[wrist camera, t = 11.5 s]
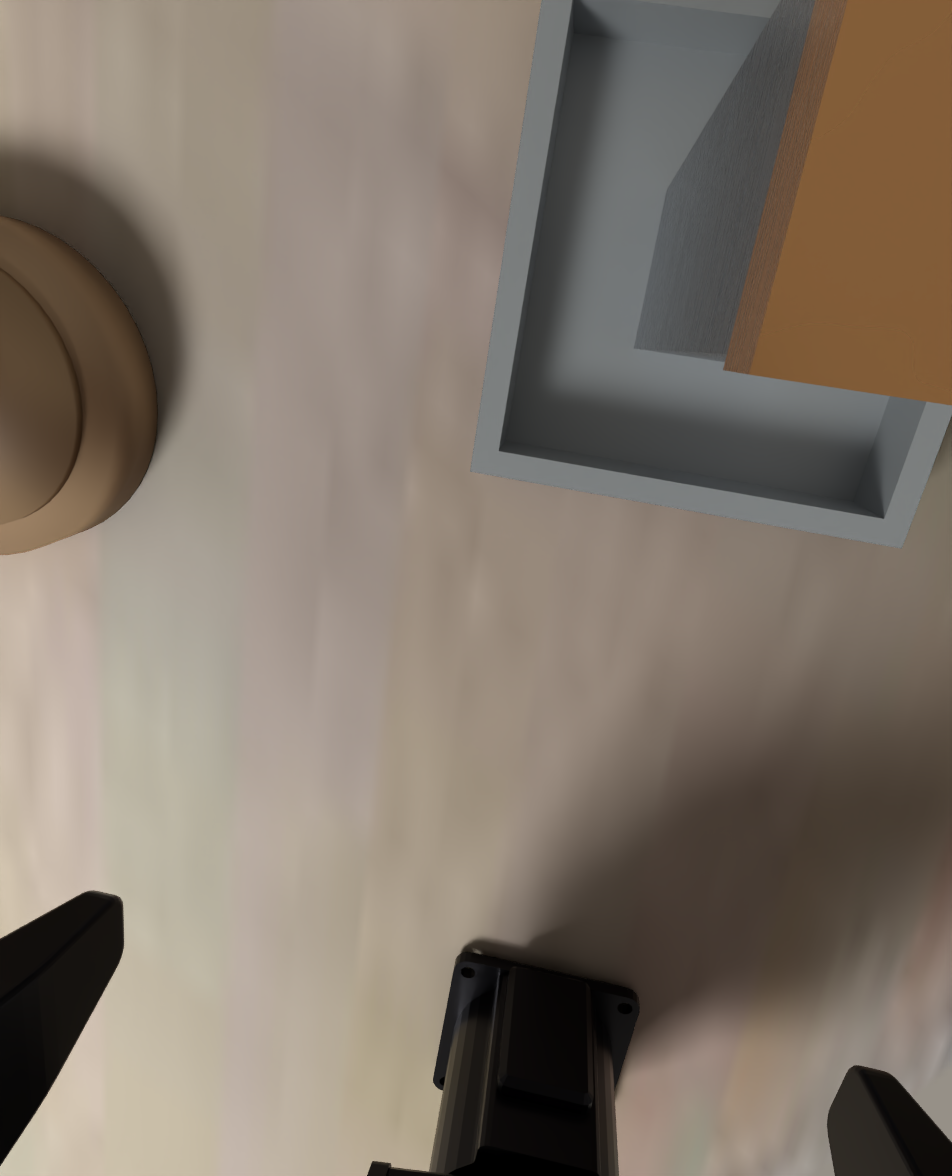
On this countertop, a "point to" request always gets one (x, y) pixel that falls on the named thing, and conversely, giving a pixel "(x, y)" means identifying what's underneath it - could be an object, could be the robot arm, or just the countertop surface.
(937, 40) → the pin
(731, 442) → the tray
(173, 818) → the countertop surface
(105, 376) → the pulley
